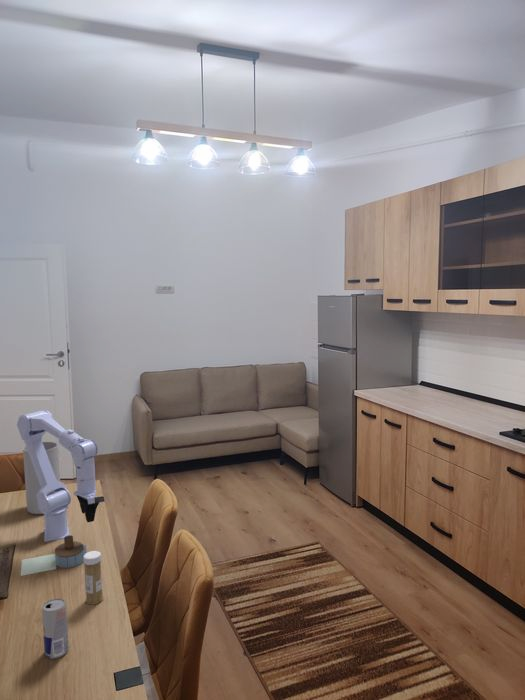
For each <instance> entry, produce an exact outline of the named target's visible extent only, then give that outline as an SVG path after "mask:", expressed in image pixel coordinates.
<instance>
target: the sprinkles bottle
mask: <svg viewBox="0 0 525 700" xmlns="http://www.w3.org/2000/svg"><path fill="white" fill-rule="evenodd" d="M83 559H84V562H83V564H84V583H85V584H84V585H85V596H86V599H85V601H86V603H87V604H88V605H96V604H99V603H101V602H102V601H103V599H104V595H103V582H102V581H103V580H102V579H103V578H102V567H101V566H102V565H101V562H102V554H101V552H100V551H98V550H93V551H92V550H90V551H87V553H86V554H85V555H84V557H83Z"/></svg>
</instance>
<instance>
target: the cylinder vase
mask: <svg viewBox="0 0 525 700" xmlns="http://www.w3.org/2000/svg"><path fill="white" fill-rule="evenodd" d="M42 443H43V445H44V448H45V451H46V453H47V456H48V459H49V461H50V464H51V467H52V469H53V472H54V475H55V477H56V480H57V481H58V482H61V471H60V470H61V469H60V457H59V455H60V453H59V444H58V443H57V442H55V441H42ZM22 455H23V456H22V457H23V469H24V471H23V472H24V483H25V484H24V486H25V500H26V510H27V512H28V513H30V514H31V515H43V514H42V513H41V512H40V510H39V508H38V501H37V497H36V495H37V493H38V492H39V490H40V488H41V485H40V482H39V480H38V477H37V474H36V471H35V469H34V466H33V463H32V461H31V458H30V455H29V453H28V450H27V447H26V445H25V446H23V447H22ZM53 492H55V491H51V492H49V493H47V495H48V494H50V493H53Z"/></svg>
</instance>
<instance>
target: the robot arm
mask: <svg viewBox="0 0 525 700" xmlns="http://www.w3.org/2000/svg"><path fill="white" fill-rule="evenodd" d="M16 427H17V429H18V432H19V434H20V437H21V440H22V441H23V443H24V444H25V446H26V447H27V450H28V453H29V455H30V458H31V461H32V463H33V466H34V469H35V471H36V474H37V477H38V480H39V482H40V485H41V488H40V490H39V492H38V493H37V495H36V497H37V501H38V508H39V510H40V512H41V513H42V514H41V515H43V517H44V529H43V530H44V531H43V532H44V533H43V535H44V537H43V538H44V539H43V541H44V542H45V543H46V542H51V541H58V540H64V537H66V536H69V535H70V529H69V525H68V516H67V515H68V514H67V509H68V508H69V505H70V504H71V502H72V494H71V492H70V491H69V490H68V488H67V486H66V484H65V483H63V482H61V481H60V482H58V481H57V480H56V477H55V475H54V472H53V469H52V467H51V464H50V461H49V459H48V456H47V453H46V451H45V448H44V445H43V443H42V442H43V440H42V439H43V436H45V434H46V433H49V434H50V435H52V436H54V437H55V438H57V439H58V443H59V444H60V446H62V447H63V448H65V449H66V450H67V451H69V452H70V454H71V456H72V457H71V458H72V459H73V462H74V466H75V470H76V472H75V473H76V489H77V490H75V491H73V495H74V497H75V496H76V498H77V500H78V502H79V506H80V510H81V513H82V514H84V516H85V520H86V523H91V522H94V521H95V517H96V513H97V509H98V507H99V504H100V499H95V497H96V493H97V488H96V486H97V485H96V468H95V465H96V464H95V457H96V456H97V454H98V451H99V449H98V445H97V443H96V442H95V440H94V439H92V438H91V439H90V438H88V439H87V438H84V437H82V436H80V434H78V433H77V432H75V430H73V429H65V428H64V427H63V426H62V425H60V424H59V423H58V422H57V421H56V420H55V419H54V418H53V414H52V413H51V412H50V411H49V410H48V409H41V410H39V411H35V412H31V413H26V414H21V415H20V416H19V417H18V419H17V424H16ZM51 491H55V492H53V493H50V494H48V495H47V493H49V492H51Z"/></svg>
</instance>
